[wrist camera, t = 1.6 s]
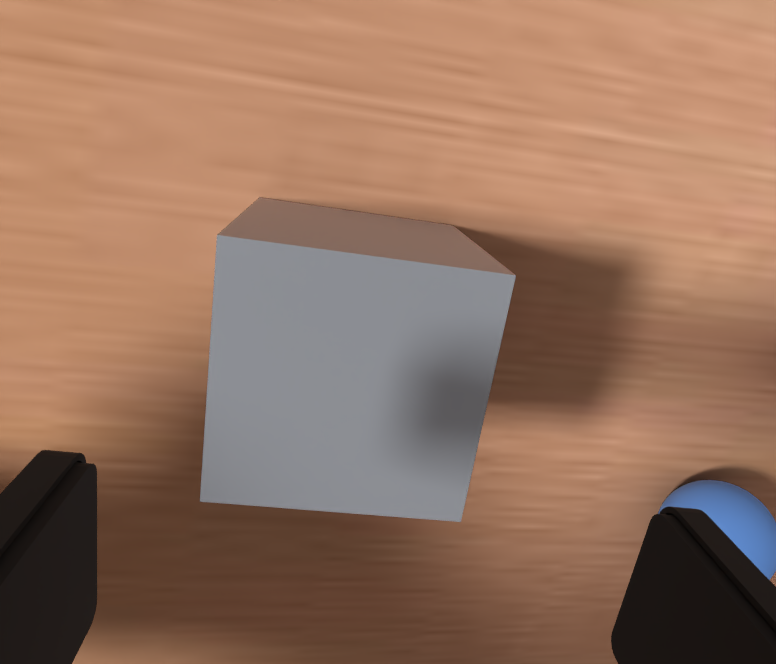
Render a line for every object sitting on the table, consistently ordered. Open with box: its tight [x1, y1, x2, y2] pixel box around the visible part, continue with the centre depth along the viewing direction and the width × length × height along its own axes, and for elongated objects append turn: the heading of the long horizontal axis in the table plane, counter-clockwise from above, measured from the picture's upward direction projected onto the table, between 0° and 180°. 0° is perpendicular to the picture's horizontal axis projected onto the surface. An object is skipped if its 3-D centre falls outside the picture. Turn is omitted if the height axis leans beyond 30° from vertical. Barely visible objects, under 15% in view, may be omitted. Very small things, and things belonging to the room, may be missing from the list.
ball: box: [658, 480, 776, 580], centre depth 27 cm, size 5×5×5 cm
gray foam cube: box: [200, 197, 516, 522], centre depth 20 cm, size 8×8×9 cm
